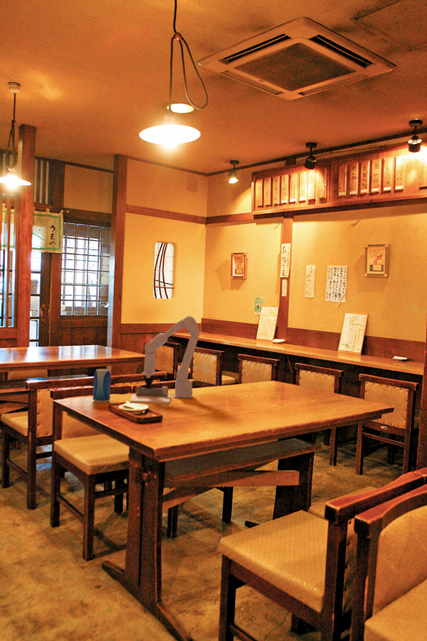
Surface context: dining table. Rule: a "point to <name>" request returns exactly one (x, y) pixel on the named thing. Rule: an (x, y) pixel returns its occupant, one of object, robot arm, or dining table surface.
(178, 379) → the robot arm
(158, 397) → the board
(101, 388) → the beer can
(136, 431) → the dining table surface
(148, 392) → the lever
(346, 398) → the dining table surface
